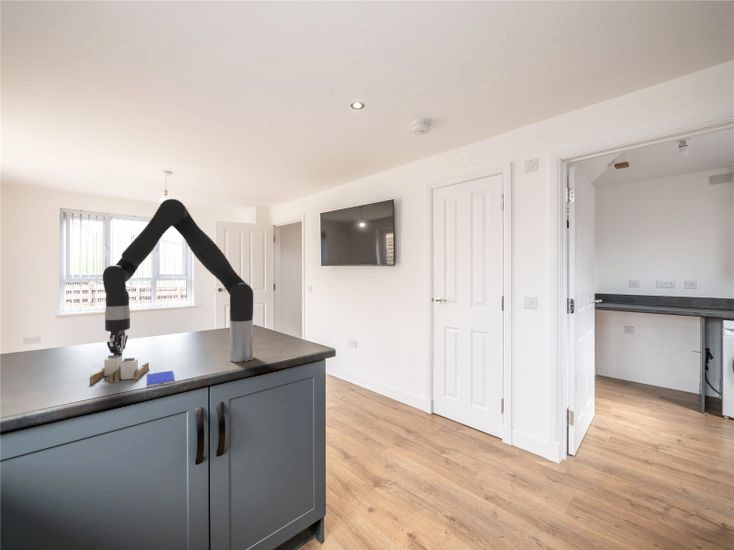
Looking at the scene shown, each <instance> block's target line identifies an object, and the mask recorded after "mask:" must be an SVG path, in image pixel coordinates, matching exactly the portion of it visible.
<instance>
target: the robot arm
mask: <svg viewBox="0 0 734 550" xmlns="http://www.w3.org/2000/svg"><path fill="white" fill-rule="evenodd" d="M171 227H173V228H174V229H176V231H177V232H178V233H179V234H180V235H181V236H182V237H183V239H184V241H185V242H186V244H187V246H188V248H189V249H190V251H191V252H192V253H193V255H194V256H195V257H196V258H197V260H198V261H199V262H200V263H201V265H202V266H203V267H204V268H205V269H206V270H207V271H209V273H210V274H211V275H213V277H215V278H216V279H217V280H218V281H219V282H220V283H221V284H222V285H223V287H224V288H225V290H226V291H227V293H228V294H229V360H230V362H232V361H233V363H244V362H243V361H245V362H249V361H253V360H254V357H253V356H254V337H253V336H254V334H253V333H254V319H253V318H254V291H253V288H252V287H251V286H250V285H249V284H248V283H247V282H246V281H245V280H243V279H242V278H241V277H240V275H239V274H237V272H236V271H235V269H234V268H233V267H232V265H231V264H230V261H229V260H228V258H227V257H226V255H225V254H224V252H222V250H221V249H220V247H219V246H218V245H217V244H216V243H215V242H214V241H213V240H212V238H210V237H209V235H207V233H205V232H204V231H203V230H202V229H201V227H200V226H198V224H197V223H196V222H195V220H194V219H193V217H192V216H191V214H190V212H189V211H188V208H187V207H186V206H185V205H184V203H183V202H182V201H180V200H178V199H176V198H168V199H165V200H163V201H162V202H161V203H160V205H159V206H158V209H156V212H155V213H154V215H153V217H152V218H151V219H150V221H149V222H148V223H147V225H145V227H144V228H143V230H142V231H141V232H140V233H139V234H138V235H137V237H135V238H134V240H133V241H132V242H131V243H130V244H129V245H128V246H127V248H125V250H123V252H122V253H121V258H120V259H119V260H118V261H117V262H116V264H114V265H113V264H112V265H109V266H107V267H106V268H105V269H104V271H103V273H102V283H103V287H104V291H105V312H104V329H105V332H110V335H109V340H108V341H107V342H106V346H107V347H108V349H109V352H110V354H112V355H119V356H122V357H123V353H124V350H125V349H126V345H127V342H128V337H129V336H128V335H127V334H126V331H127V330H129V329H130V328H131V311H130V310H131V309H130V295H129V294H130V293H129V292H128V291H127V286H126V282H128V281H129V280H130V279H131V278H132V276H133V275H134V274H135V273H136V271H137V270H138V268H139V267H140V265H141V264H142V263H143V262H144V261H145V260H146V259H147V257H148V256H149V255H150V254H151V253H152V252H153V250H154V249H155V247H156V246H157V244H158V243H159V241H160V240H161V238H162V236H164V234H165V233H166V232H167V231H168V230H169V229H170V228H171ZM248 360H249V361H248Z"/></svg>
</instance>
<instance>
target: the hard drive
mask: <svg viewBox="0 0 734 550" xmlns="http://www.w3.org/2000/svg"><path fill="white" fill-rule="evenodd" d="M174 375H175V373H174V371H173V370H169V371H168V370H167V371H160V372H153V373H148V374H146V388H152V387H157V386H163V385H164V386H165V385H171V384H175V383H176V379H175V376H174Z"/></svg>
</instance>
